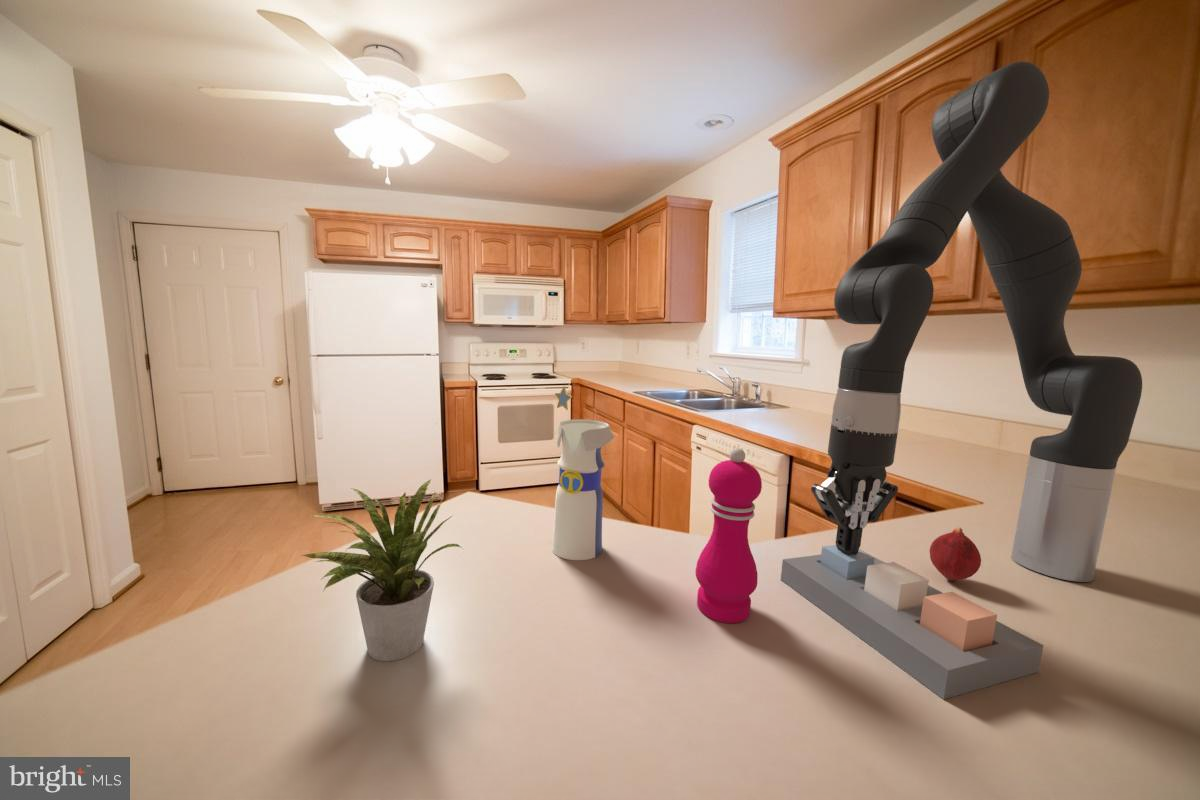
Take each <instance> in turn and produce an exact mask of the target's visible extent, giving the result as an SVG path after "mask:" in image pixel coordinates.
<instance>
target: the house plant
mask: <svg viewBox="0 0 1200 800" xmlns="http://www.w3.org/2000/svg"><path fill="white" fill-rule="evenodd" d="M431 481H432V479H428V480H427V481H425V482H424V483H422V485H420V487H419V488H418V489H417V490H416V492H415V493H414V495H413V496H412V497H411V499H410V500H409V502H408V503H407V505H406V502H407V501H406V500H407V499H406V492H404V493H403V494H402V496H401V497H400V501H399V504H398V506H397V508H396V511H395V514H394V521H393V522H394V524H393V531H392V526H391V522H390V519H389V514H388V511H387V508H386V506H385V505H384V504H383V503H382V502H381V501H380V500H378V499H376V498H371V497H369V495H367V494H366V493H364V492H362V491H360V490H359V489H356V488H353V487H351V488H350V489H351V490H353V491H354V492H355V493H357V494H358V496H359V497H360V498H361V499H362V500H363V502H364V503H363V504H362V503H361V506H362V507H363V508H364V509H365V510H366V511H367V512H368V515H369V517H370V519H371V522H372V524H373V525H374V527H375V529H376V531H377V533H378V536H379V538H380V540H381V543H382V545H381V543H380V542H379V541H378V540H377V539H376V538H375V536H373V534H371V533H370V532H369V531H368V530H367V529H365V527H363V526H362V525H360V524H358V523H357V522H355V521H354V520H352V519H349V518H347V517H344V516H342V515H341V516H340V515H335V514H334V515H333V514H307V515H306V514H305V515H304V516H305V517H306V516H307V517H318V518H319V517H320V518H328V519H335V520H338V521H342V522H344V523H341V522H337V521H326V522H325V521H324V522H323V524H327V523H328V524H329V523H330V524H331V523H332V524H338V525H341V526H345V527H346V528H348V529H350V530H352V531H353V532H351V531H348V530H340V531H339V533H351V534H354V536H355V537H357V538H358V539H360V540H361V541H359V542H355V543H353V544H351V545H350V546H349V547H347V548H346V550H345V551H347V550H348V549H358V550H363V551H366V552H367V554H364V553H362V554H361V553H355V552H343V551H341V552H340V551H322V552H321V551H320V552H314V553H307V554H303V555H301V557H306V558H310V559H320V560H315V561H314V562H316V563H317V562H320V563H321V562H327V563H328V562H329V563H334V564H337V565H338V566H336V567H334V568H332V569H330V570H329V571H328V572H327V573H326V574H324V575H323V576H322V578H321V579H320V581H322V579H324V578H326V577H329V576H332V577H330V579H329V580H327V583H326V584H325V586H324V589H323V591H322V592H324V591H325V590H326V588H329V587H331V586H333V585H335V584H337V583H339V582H342V581H343V580H345V579H347V578H350V577H351V576H354V575H359V576H361V577H362V578H365V579H366V580H364V581H363V582H362V583H361V584H360V585H359V587H358V588H357V589H356V594H355V598H356V602H357V606H358V611H359V616H360V620H361V621H360V622H361V626H362V629H363V634H364V635H363V636H364V639H365V645H366V648H367V653H368V656H370V658H372V659H373V660H375V661H376V660H377V661H379V662H394V661H398V660H402V659H405V658H407V657H409V656H412V655H413V654H415V653H416V652H417V651H418V650H419V649H420V648H421V646H423V643H424V638H425V634H426V633H425V632H426V627H427V623H428V616H429V612H430V606H431V601H432V597H433V591H434V585H435V581H434V577H433V576H432V575H431V574H430V573H429V572H426V571H425V570H421V569H420V568H421V567H422V566H423V564H424V563H425V562H426V561H427V560H428V559H429V558H430V557H431V556H432V555H435V554H436V553H437V552H440V551H442V550H444V549H446V548H451V547H452V548H453V547H458V548H461V549H462V550H464V549H463V547H462V546H461V545H459V544H458V543H448V544H446V545H443V546H441V547H438V548H437V549H435V550H433V551H432V552H430V553H429V554H428V555H427V556H426V557H425V558H424V559H423V561H422V562H421V563H420V564H419V566H418V568H417V564H418V562H419V560H420V557H421V556H422V554H423V553H424V551H425V549H426V548H427V546H428V541H429V539H430V538H431V537H433V536H434V534H435V533H436V532H437V531H438V530H440V528H441V527H442V525H443V524H444V523H446V522H447V521H448V520H450V519H451V518H452V517H453V515H454V514H452V515H451V516H449V517H447V518H446V519H445V520H443V521H441V523H439V524H438V526H437V525H436V527H435V528H434V529H433V530H432V531H431V532H430V533H428V535H427V532H428V530H429V529H430V527H431V525H432V524H433V523H434V520H435V519H436V517H437V514H438V513H439V509H440V508H441V505H442V504H443V499H444V496H443V497H442V499H441V500H440V501H439V503H438V505H437V506H436V508H435V509H434V510H433V512H432V513H431V515H430V518H429V519H428V521H427V524H425V521H426V519H427V517H428V515H429V513H430V511H431V508H432V506H433V503H434V498H435V495H436V491H434V492H433V494H432V496H431V497H430V499H429V501H428V503H427V504H426V505H425V509H424V511H423V513H422V515H421V518H420V520H419V522H418V525H417V526H416V530H415V524H416V521H417V520H416V519H417V517H418V513H419V510H420V507H421V505H422V502H423V500H424V498H425V495H426V492H427V490H429V487H428V486H429V484H430V483H431ZM373 500H374V501H375V502H376V503H377V504H378V506H379V509H380V512H381V514H382V515H380V514H379V511H378V509H377V506H376V504H375V503H374V501H373ZM345 522H346V523H347V524H350V525H352V526H353V527H355V529H356V530H357V532H358V533H357V532H355V531H354V530H353V529H352V528H351V527H350V526H348V525H346V524H345ZM424 524H425V527H424V528H423V526H424ZM422 528H423V530H422ZM426 535H427V536H426ZM364 573H365V574H367V575H369V576H371V577H369V576H367V575H365V574H364Z"/></svg>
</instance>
